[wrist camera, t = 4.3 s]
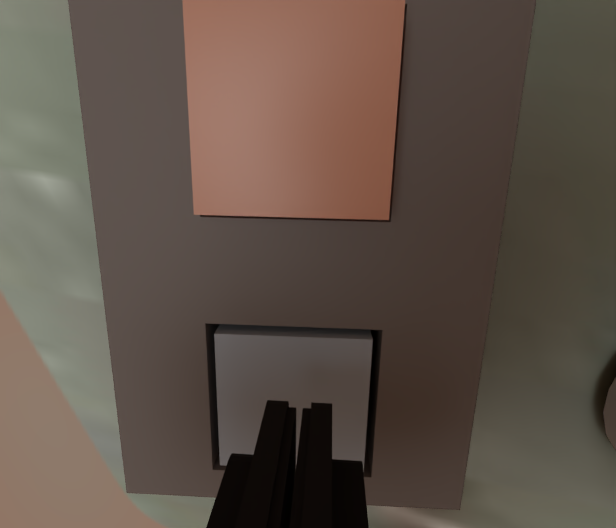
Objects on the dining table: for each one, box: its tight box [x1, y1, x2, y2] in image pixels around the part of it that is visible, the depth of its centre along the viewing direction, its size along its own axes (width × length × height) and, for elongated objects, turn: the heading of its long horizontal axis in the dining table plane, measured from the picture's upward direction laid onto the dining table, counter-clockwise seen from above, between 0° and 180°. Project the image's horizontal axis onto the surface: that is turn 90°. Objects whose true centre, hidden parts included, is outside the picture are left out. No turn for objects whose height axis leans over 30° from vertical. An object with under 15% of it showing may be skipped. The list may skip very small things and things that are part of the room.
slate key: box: [214, 324, 373, 472], centre depth 16 cm, size 5×5×4 cm
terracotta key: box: [182, 0, 405, 220], centre depth 12 cm, size 5×5×4 cm
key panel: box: [68, 0, 536, 510], centre depth 14 cm, size 26×12×5 cm, turn 179°
